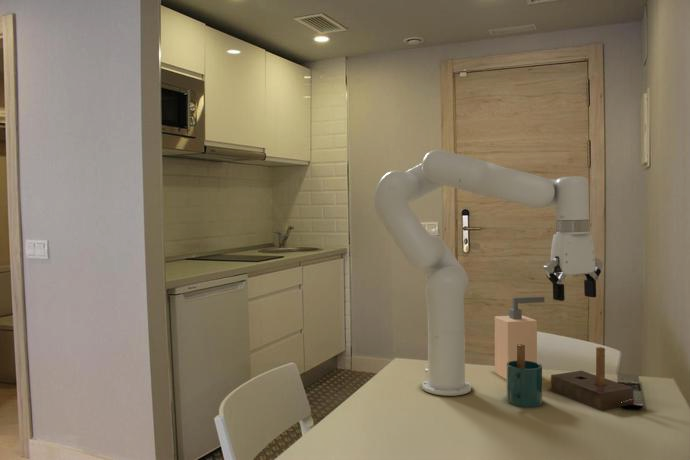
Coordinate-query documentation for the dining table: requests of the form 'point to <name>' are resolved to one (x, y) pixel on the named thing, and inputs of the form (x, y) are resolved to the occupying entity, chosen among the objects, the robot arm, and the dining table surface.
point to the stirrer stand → (591, 390)
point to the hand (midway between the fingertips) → (574, 298)
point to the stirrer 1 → (521, 356)
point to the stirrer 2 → (600, 366)
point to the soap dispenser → (515, 335)
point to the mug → (524, 384)
